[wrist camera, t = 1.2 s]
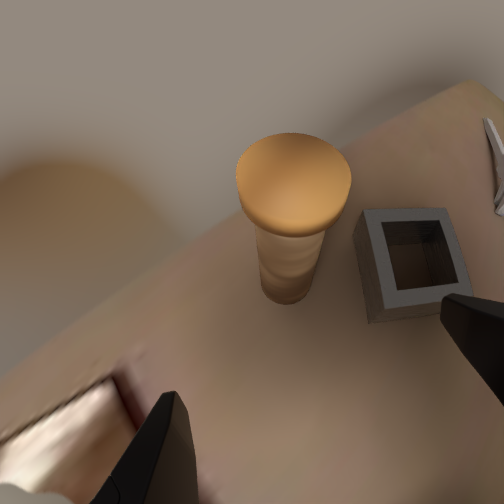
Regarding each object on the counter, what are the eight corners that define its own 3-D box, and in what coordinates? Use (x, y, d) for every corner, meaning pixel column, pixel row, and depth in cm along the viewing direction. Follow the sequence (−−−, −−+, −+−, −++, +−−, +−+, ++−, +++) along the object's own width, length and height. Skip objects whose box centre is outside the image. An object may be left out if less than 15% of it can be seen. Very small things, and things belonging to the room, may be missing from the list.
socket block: (428, 231, 26) (445, 207, 23) (449, 311, 23) (473, 295, 19) (352, 235, 27) (363, 209, 23) (368, 323, 23) (384, 308, 19)
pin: (327, 267, 25) (364, 154, 14) (301, 322, 23) (328, 238, 12) (271, 242, 27) (267, 122, 15) (242, 294, 25) (214, 192, 13)
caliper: (500, 219, 27) (528, 187, 21) (493, 216, 27) (520, 182, 21) (487, 122, 35) (501, 93, 29) (481, 119, 35) (495, 90, 29)
